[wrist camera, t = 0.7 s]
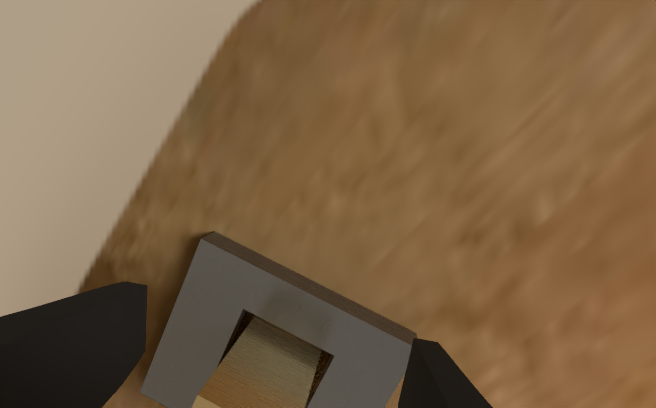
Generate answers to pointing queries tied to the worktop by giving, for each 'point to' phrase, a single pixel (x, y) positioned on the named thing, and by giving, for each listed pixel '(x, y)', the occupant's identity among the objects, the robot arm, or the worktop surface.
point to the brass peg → (262, 371)
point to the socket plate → (283, 311)
